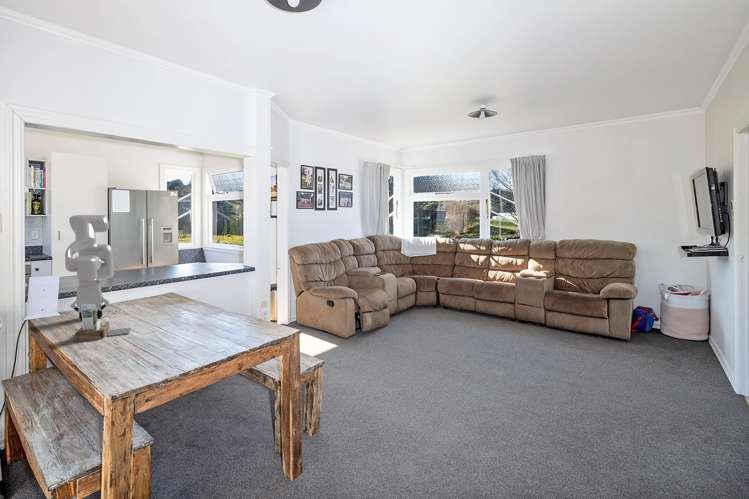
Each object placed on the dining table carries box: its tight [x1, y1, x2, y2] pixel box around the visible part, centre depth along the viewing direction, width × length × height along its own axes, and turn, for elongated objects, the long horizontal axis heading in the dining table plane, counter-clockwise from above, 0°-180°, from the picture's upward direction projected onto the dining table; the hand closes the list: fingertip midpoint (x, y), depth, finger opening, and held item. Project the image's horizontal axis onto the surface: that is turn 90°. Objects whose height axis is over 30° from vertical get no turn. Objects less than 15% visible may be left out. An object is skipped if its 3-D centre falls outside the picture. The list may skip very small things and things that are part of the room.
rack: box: [75, 321, 110, 343], centre depth 191 cm, size 16×11×4 cm
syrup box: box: [81, 303, 101, 332], centre depth 189 cm, size 6×6×14 cm
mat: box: [106, 327, 132, 337], centre depth 196 cm, size 10×9×1 cm
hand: (91, 318), depth 189 cm, fingers closed on syrup box, 6 cm apart
